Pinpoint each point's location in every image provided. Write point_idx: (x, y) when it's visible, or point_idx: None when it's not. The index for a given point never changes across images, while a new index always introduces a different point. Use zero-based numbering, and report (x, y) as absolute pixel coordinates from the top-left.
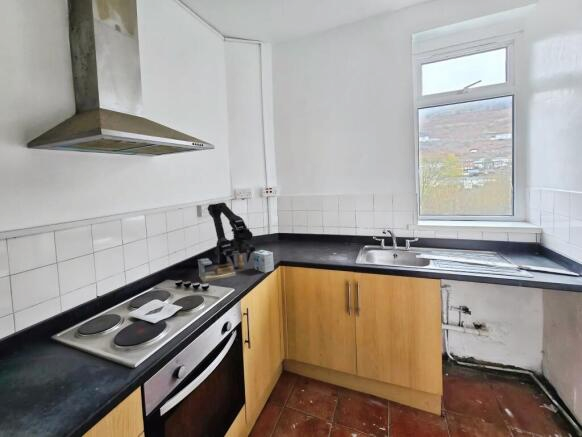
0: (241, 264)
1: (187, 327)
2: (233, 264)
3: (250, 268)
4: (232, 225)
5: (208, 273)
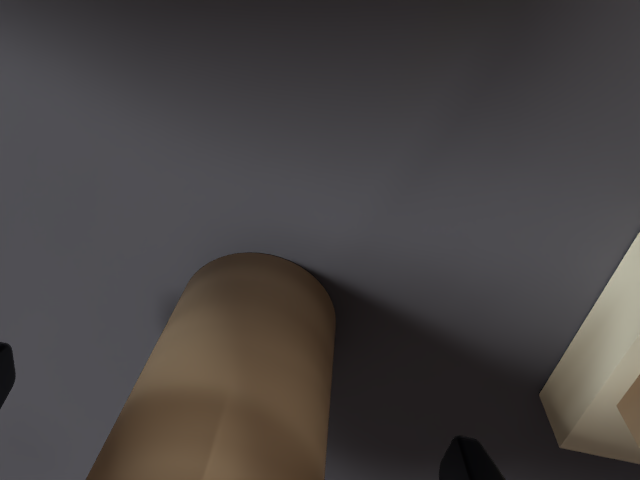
0: (259, 338)
1: None
2: (488, 471)
3: (69, 61)
4: None
5: None
